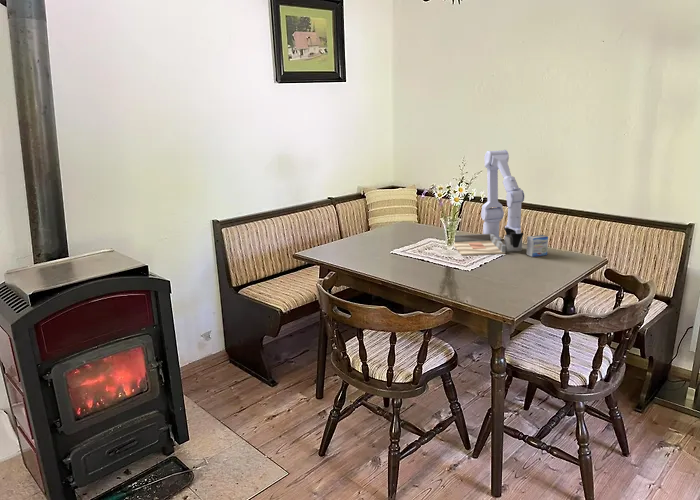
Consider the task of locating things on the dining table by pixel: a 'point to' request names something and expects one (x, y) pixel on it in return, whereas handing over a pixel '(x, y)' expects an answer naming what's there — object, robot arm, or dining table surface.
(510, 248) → the aluminium block
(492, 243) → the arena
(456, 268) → the dining table surface
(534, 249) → the medicine box
